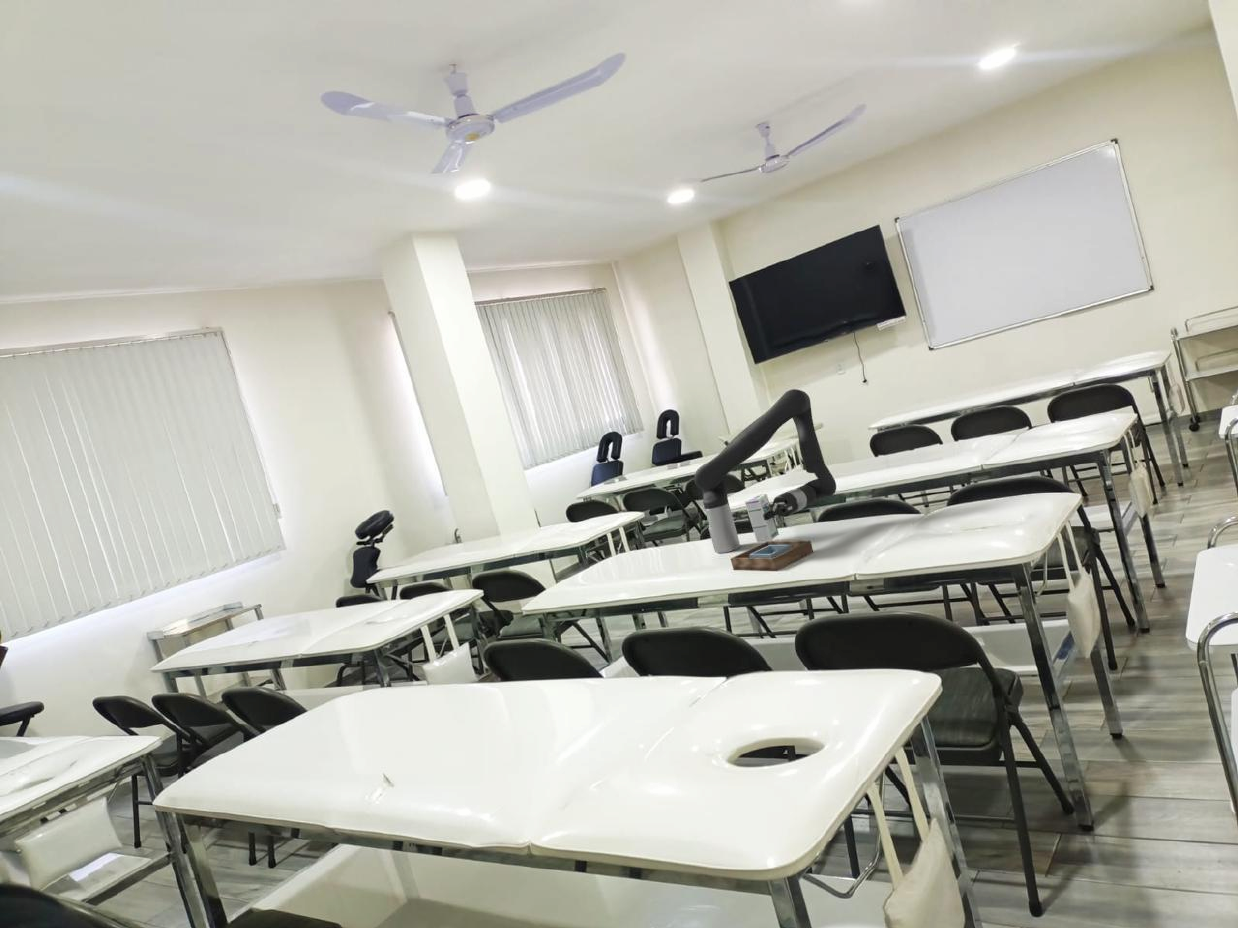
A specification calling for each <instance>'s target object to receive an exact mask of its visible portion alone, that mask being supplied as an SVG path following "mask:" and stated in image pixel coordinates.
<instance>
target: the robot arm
mask: <svg viewBox="0 0 1238 928" xmlns="http://www.w3.org/2000/svg"><path fill="white" fill-rule="evenodd" d="M791 419H792V420H793V422H794V425H795V428H796V432H797V437H798V446H799V452H800V457H801V459H802V462H803V467H804V469H805V471H806V473H808V474H814V475H815V477H816V478H815V479H812V480H810V481H808V482H806V483H804V484H803V485H801V486H798V487H796V488H794V489H790V490H788V491H786V492H782V493H781V494H778V495H776V496H775V497H774V498H773V502H771V503H770V507H771V510H772V511H769V512H767V513H765V514H763V517H764V520H769V519H771V518H773V517H774V518H777V517H783V518H785V517H789V516H791V515H794V514H795V513H797V512H799V511H801V510H803V509H804V508H806V507H808V506H810V505H812V504H813V503H814V502H815V501H818V500H820V499H825V498H830V497H832V496H833V495H834V494H835V493H836V491H837V483H836V479H835V478H834V476H833V474H832V472H831V471H830V470H829V468H828V466H827V465H826V463H825V460H824V457H823V453H822V449H821V446H820V443H819V441H818V436H817V434H816V430H815V426H814V425H815V424H814V420H813V413H812V405H811V398H810V396H809V395H808V393H806V392H805V391H803V390H800V389H795V388H794V389H789V390H787V391H786V392H784V393H783V394H782V395H781V396H780V398H778V400H776V402H775V403H774V404H773V405H772V406H771V407H770V408H769V409H768V410H767V411H766V412H765V413H764V414H762V415H761V416H759V417H758V418H756V419H755V420H754V421H752V423H750V424H749V425H747V426H746V427H745V428H744V429H743V430H741V431H740V432H739V433H738V434H737V435H736V436H735V437H734V438H733V439H732V440H731V441H730V442H729V443H728V444H727V445H726V446H725V447H724V448H723V449H722V451H721V452H720V453H719V454H718V455H717V456H715V457H714V458H713V459H711V460H709V462H707V463H704V464H702V465H701V466H700V467H699V468H698V469H697V470H696V471H695V473H694V477H693V478H694V479H693V480H694V484H695V485H696V487H698V489H700V490H701V492H702V496H703V497H702V498H703V499H702V503H703V508H704V511H705V515H706V517H707V519H706V520H707V523H708V524H709V526H708V532H709V536H710V539H711V543H712V547H713V550H714V553H717V554H725V553H729V552H733V551H735V550H737V549H740V548H741V544H740V539H739V536H738V531H737V529H736V528H737V527H736V525H735V520H734V518H733V517H734V516H733V513H732V510H731V506H730V503H729V499H728V490H727V486H726V482H725V478H724V477H726V475H728V474H729V473H730V472H731V471H732V470H734V469H736V467H738V466H740V465H741V464H742V463H744V462H745V461H747V460H748V459H750V458H751V457H752V456H754V455H755V454H756V453H757V452H759V451H760V450H761V449H763V447H764V446H766V445H767V444H768V442H770V440H771V439H772V438H773V436H774V435H775V434H776V432H777V431H778V430H779V429H780V428H781V427H782V426H783V425H784V424H786V423H788V422H789V421H790V420H791ZM747 519H748V521H749V522H751V521H750V517H749V514H747Z"/></svg>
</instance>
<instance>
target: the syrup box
mask: <svg viewBox="0 0 1238 928" xmlns="http://www.w3.org/2000/svg"><path fill="white" fill-rule="evenodd" d="M744 504H745V507H746V509H747V513H748V514H747V515H749V517H750V521H749V522H750V525H751V527H752V531H753V534H754V536H755V539H756V542H757V543H761V542H762V543H764V542H767V541H773V540H774V539H775V538H776V537H778V536H779V534H780V532H779V530H778V527H777V524H776V521H775V517H773V518H771V519H769V520H764V517H763V514H765V513H767V512H769V511H772V510H771V507H770V504H771V503H770V501H769V497H768V495H767V493H766V494H765V493H764V494H758V495H754V496H752V497H750V498H749V499H747V500H745V501H744Z"/></svg>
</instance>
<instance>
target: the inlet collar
mask: <svg viewBox="0 0 1238 928" xmlns="http://www.w3.org/2000/svg"><path fill="white" fill-rule="evenodd" d="M791 549H792V546H791V545H768V546H766V547H764V548H762V549H760V550H758V551H756V552H754V553H752V554H749V556H750V558H774V557H776V556H778V555H780V554H782V553H785V552H787V551H789V550H791Z"/></svg>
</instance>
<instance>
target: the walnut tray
mask: <svg viewBox="0 0 1238 928" xmlns="http://www.w3.org/2000/svg"><path fill="white" fill-rule="evenodd" d="M768 545H791V546H792V549H791V550H789V551H787V552H785V553H782V554H780V555H778V556H776V557H774V558H750V556H749V554H752V553H754V552H756V551H758V550H760V549H762V548H764V547H766V546H768ZM813 553H814V549H813V546H812V541H811V540H774V541H773V540H770V541H764V542H762V543H761V544H759V545H756V546H754V547H752V548H750V549H747V550H746V551H743V552H741V553H739V554H738V555H735V556H733V557H730V562H731V565H732V570H733V571H756V572H758V571H759V572H760V571H762V572H764V571H765V572H777V571H779V570H782V569H783V568H785V567H787V566H789V565H791V564H793V563H796V562H797V561H799V560H801V559H803V558H806V557H807V556H809V555H811V554H813Z"/></svg>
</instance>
